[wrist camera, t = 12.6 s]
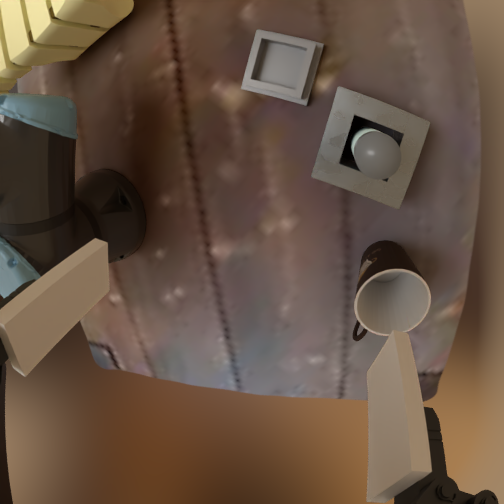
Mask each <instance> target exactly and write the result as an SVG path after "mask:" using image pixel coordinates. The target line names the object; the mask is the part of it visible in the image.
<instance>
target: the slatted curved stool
mask: <svg viewBox="0 0 504 504" xmlns="http://www.w3.org/2000/svg"><path fill="white" fill-rule="evenodd" d="M133 7H134V2H133V0H0V94H2V93H9V91H8V90H10V89H12V87H13V86H14V85H15V83H16V82H17V81H16V78H21V77H22V76H24V75H25V74H26V73H28V72H29V71H31V70H32V68H31V66H42V65H46V64H49V63H54V62H59V61H69V60H75V59H76V58H77V57H79V56H80V55H81V54H82V53H83V52H84V51H85V50H86V49H87V48H88V47H89V46H90V45H92V44H93V43H94V42H95V41H96V40H97V39H99V38H100V37H101V36H102V35H103V34H105V33H106V32H107V31H108V30H109V29H110V28H111V27H113V26H114V25H116V24H117V23H118V22H120V21H121V20H122V19H123V18H125V17H126V16H127V15H129V14H130V12H131V11H132V9H133Z"/></svg>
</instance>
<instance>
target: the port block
mask: <svg viewBox="0 0 504 504" xmlns="http://www.w3.org/2000/svg"><path fill="white" fill-rule="evenodd" d="M354 115H355V116H358V117H360V118H363V119H366V120H368V121H371V122H374V123H376V124H379V125H381V126H384V127H387V128H389V129H391V130H394V133H393V136H392V138H393V139H394V140H395V141H396V142H397V144H398V146H399V148H400V151H401V164H400V166H399V168H398V170H397V171H396V173H395V174H394V175H392V176H391V177H389V178H386V179H383V180H376V179H372V178H369V177H367V176H366V175H364V174H363V173H362V172H361V171H360V169H359V168H358V166H357V164H356V162H354V161H351V160H348V159H345V158H343V157H341V155H342V152H343V149H344V146H345V142H346V139H347V136H348V133H349V130H350V127H351V123H352V120H353V117H354ZM430 123H431V122H428V121H426V120H424V119H422V118H420V117H418V116H415V115H413V114H411V113H408V112H406V111H404V110H401V109H399V108H397V107H394V106H392V105H389V104H387V103H384V102H382V101H379V100H376V99H374V98H371V97H368V96H366V95H363V94H360V93H357V92H354V91H351V90H348V89H345V88H342V87H339V86H338V89H337V92H336V96H335V99H334V102H333V106H332V109H331V113H330V116H329V119H328V123H327V126H326V129H325V133H324V136H323V139H322V142H321V146H320V149H319V152H318V155H317V159H316V162H315V165H314V168H313V171H312V175H311V177H312V178H315V179H318V180H321V181H324V182H327V183H329V184H332V185H335V186H338V187H341V188H343V189H346V190H349V191H352V192H354V193H357V194H360V195H362V196H365V197H368V198H370V199H373V200H375V201H378V202H381V203H383V204H386V205H388V206H391V207H393V208H396V209H398V210H399V208H400V206H401V203H402V201H403V198H404V196H405V193H406V191H407V188H408V186H409V183H410V180H411V178H412V175H413V172H414V170H415V167H416V164H417V161H418V159H419V156H420V153H421V150H422V147H423V144H424V141H425V138H426V135H427V132H428V129H429V126H430Z"/></svg>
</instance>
